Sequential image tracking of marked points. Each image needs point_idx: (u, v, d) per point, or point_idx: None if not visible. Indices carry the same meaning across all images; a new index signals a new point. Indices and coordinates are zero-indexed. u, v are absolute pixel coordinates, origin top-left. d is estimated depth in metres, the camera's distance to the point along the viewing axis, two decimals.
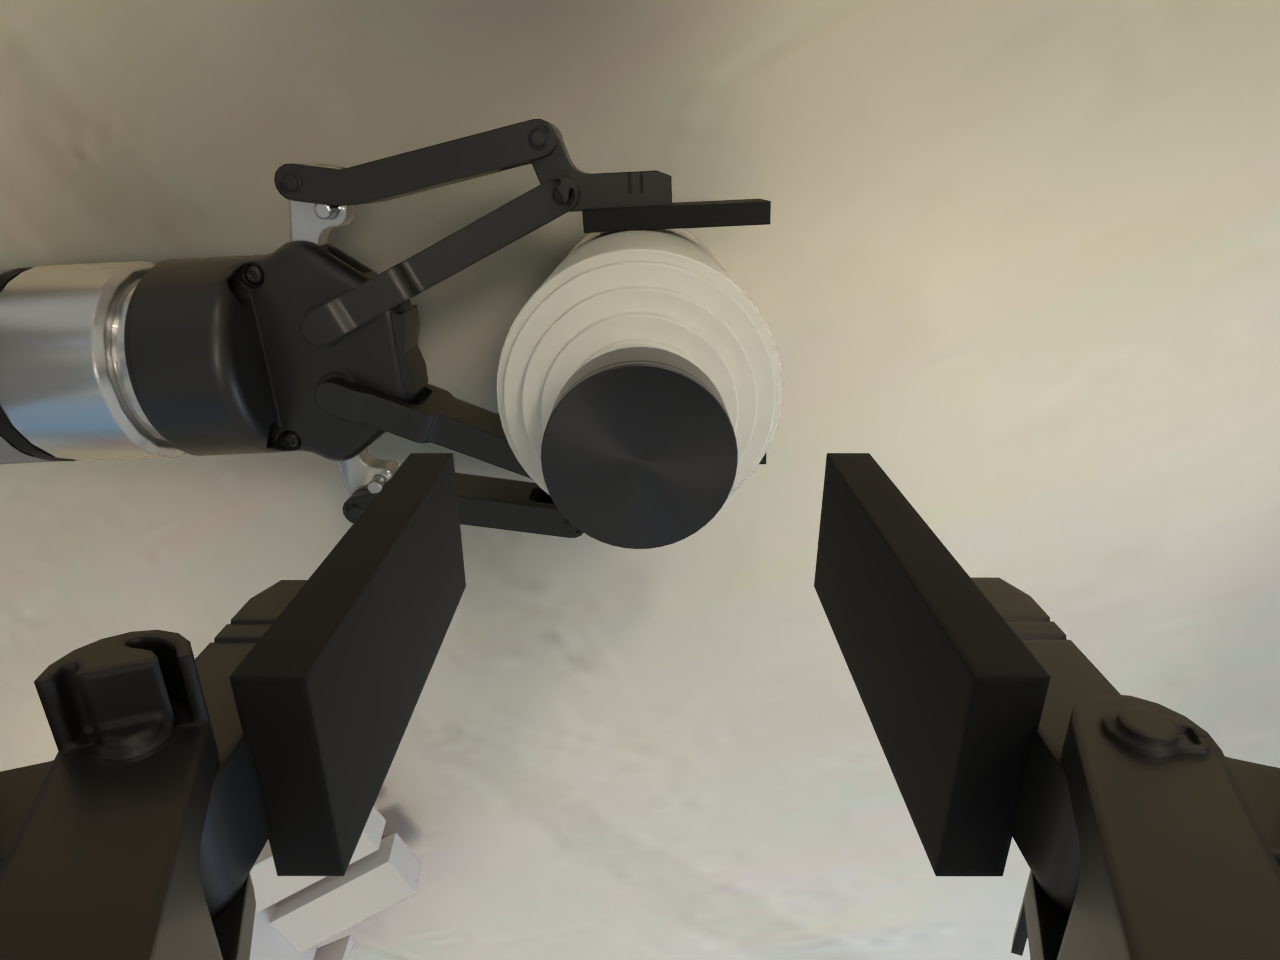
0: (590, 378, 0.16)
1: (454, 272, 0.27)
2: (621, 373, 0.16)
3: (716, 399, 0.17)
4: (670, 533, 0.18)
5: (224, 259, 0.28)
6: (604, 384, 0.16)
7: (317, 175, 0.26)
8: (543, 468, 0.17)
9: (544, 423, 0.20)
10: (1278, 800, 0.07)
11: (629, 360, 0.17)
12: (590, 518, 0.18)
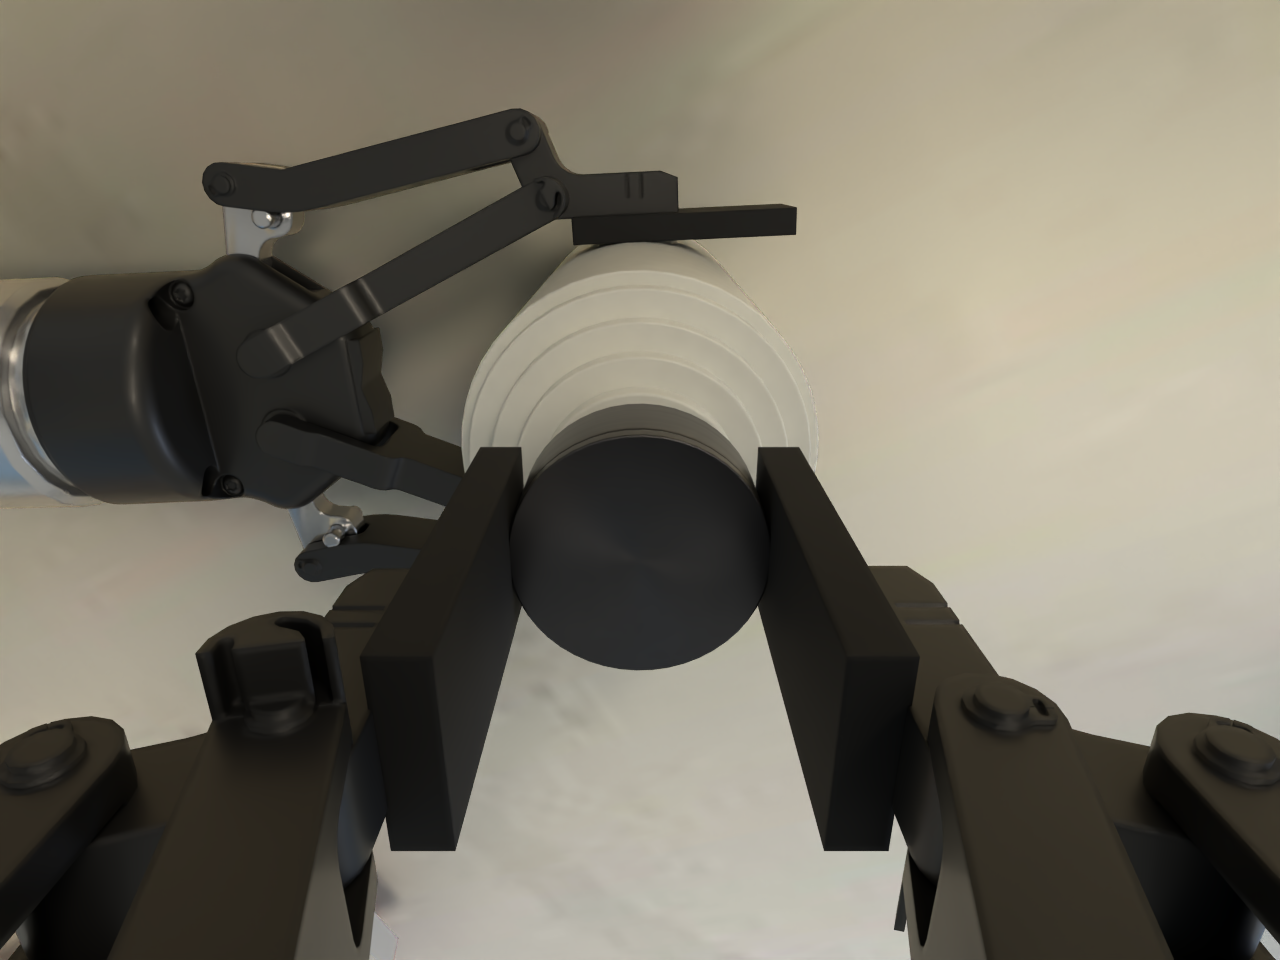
0: (573, 453, 0.12)
1: (419, 291, 0.23)
2: (615, 447, 0.12)
3: (744, 480, 0.12)
4: (681, 651, 0.13)
5: (148, 276, 0.24)
6: (592, 461, 0.12)
7: (253, 176, 0.22)
8: (511, 569, 0.13)
9: None
10: (1124, 772, 0.07)
11: (626, 427, 0.12)
12: (574, 632, 0.13)
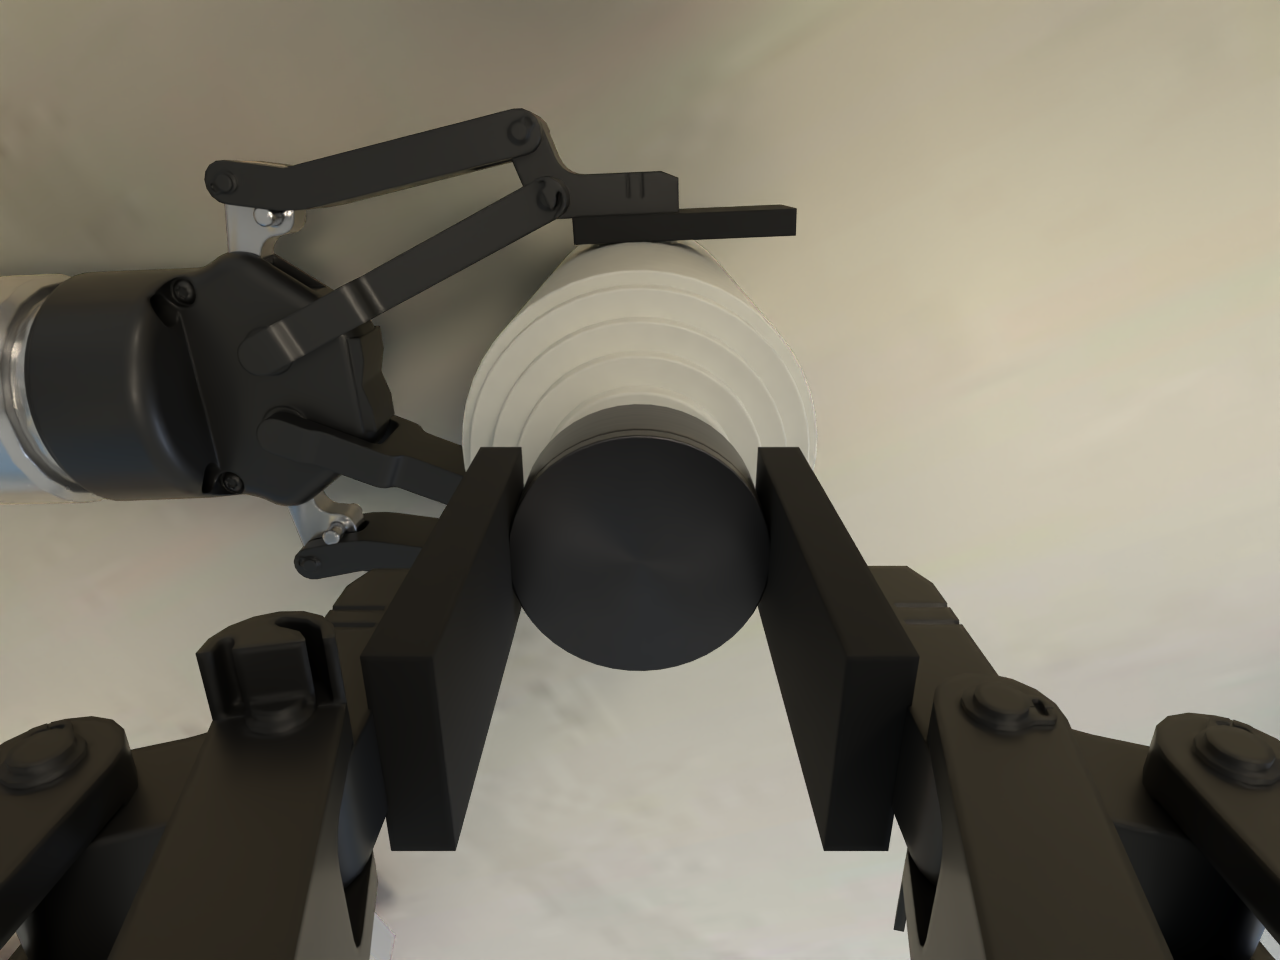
0: (583, 657, 0.13)
1: (420, 290, 0.23)
2: (555, 634, 0.13)
3: (511, 526, 0.13)
4: (707, 471, 0.12)
5: (149, 273, 0.24)
6: (579, 642, 0.13)
7: (255, 174, 0.22)
8: (716, 646, 0.13)
9: None
10: (1124, 772, 0.07)
11: None
12: (746, 568, 0.13)
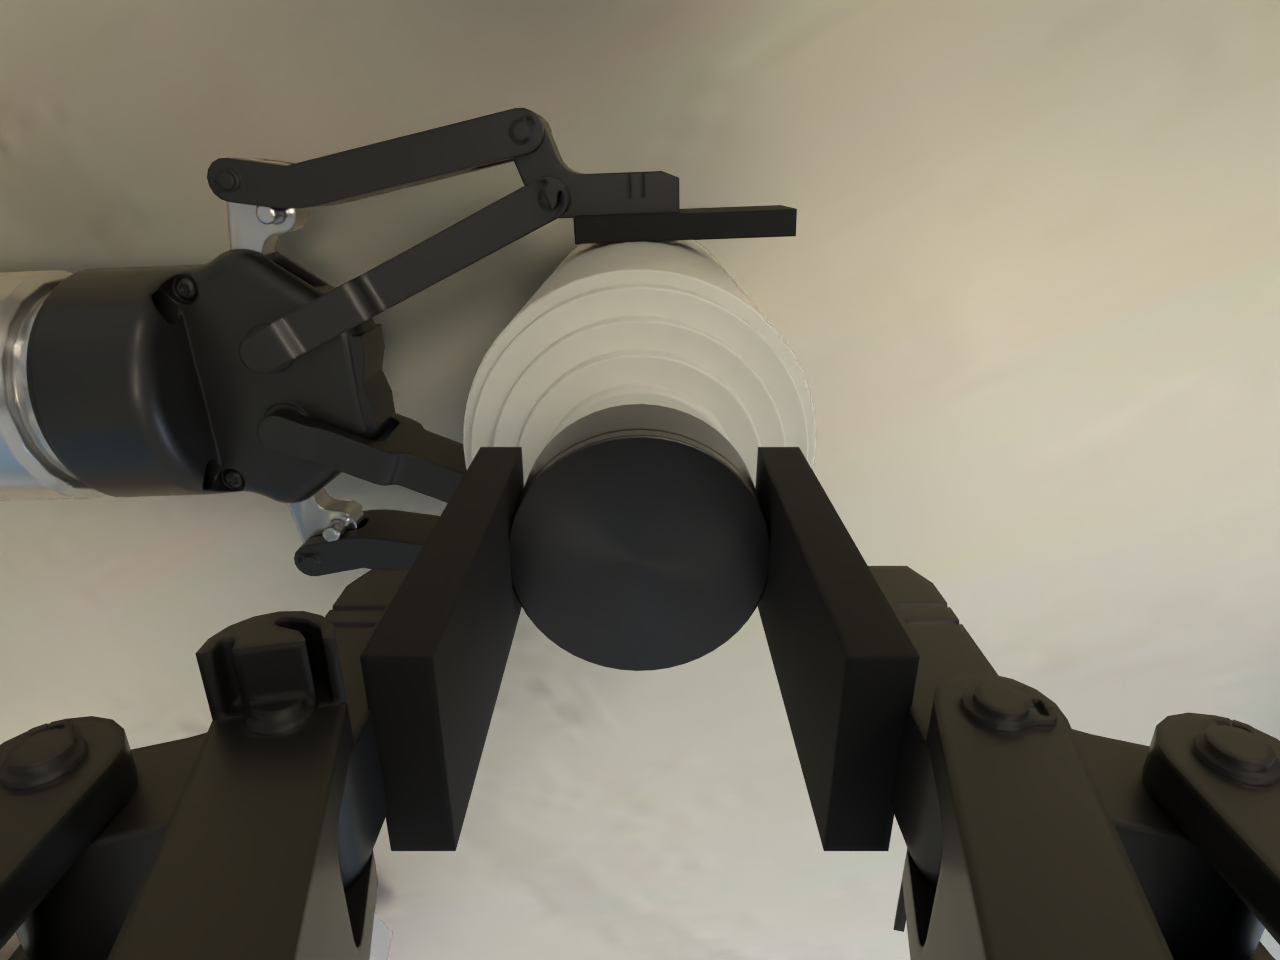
0: (769, 546, 0.13)
1: (422, 288, 0.23)
2: (758, 582, 0.13)
3: (677, 663, 0.14)
4: (523, 560, 0.13)
5: (152, 270, 0.24)
6: (754, 559, 0.13)
7: (258, 172, 0.22)
8: (680, 443, 0.12)
9: None
10: (1124, 772, 0.07)
11: None
12: (583, 472, 0.12)
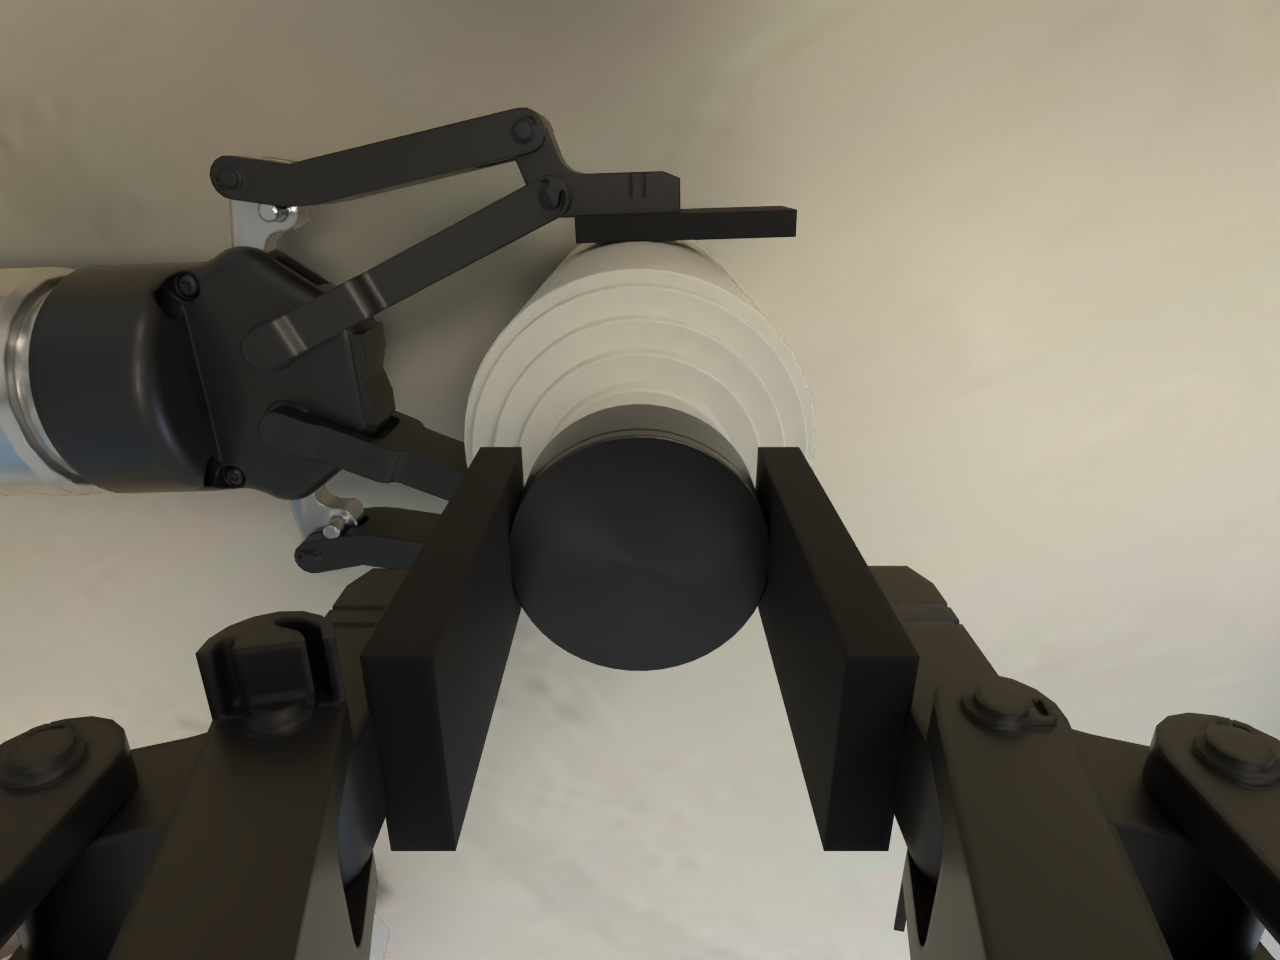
0: (550, 469, 0.12)
1: (423, 286, 0.23)
2: (589, 454, 0.12)
3: (724, 462, 0.12)
4: (701, 642, 0.13)
5: (154, 266, 0.24)
6: (570, 473, 0.12)
7: (261, 170, 0.22)
8: (517, 592, 0.13)
9: None
10: (1124, 772, 0.07)
11: (598, 433, 0.12)
12: (592, 642, 0.13)
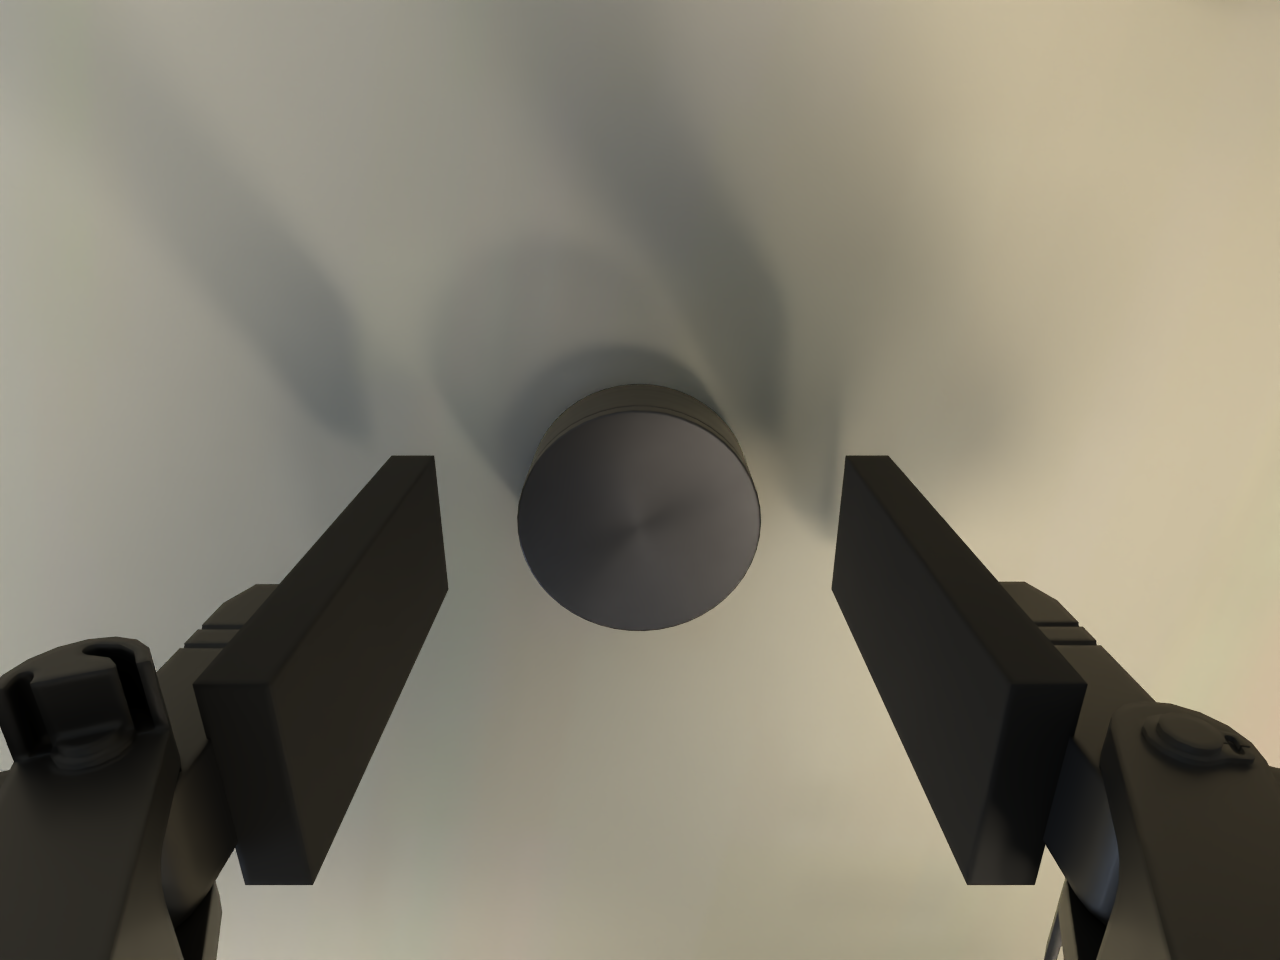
0: (557, 441, 0.13)
1: None
2: (593, 428, 0.13)
3: (717, 436, 0.13)
4: (695, 604, 0.14)
5: None
6: (576, 445, 0.13)
7: None
8: (526, 557, 0.14)
9: None
10: None
11: (601, 409, 0.13)
12: (595, 604, 0.14)
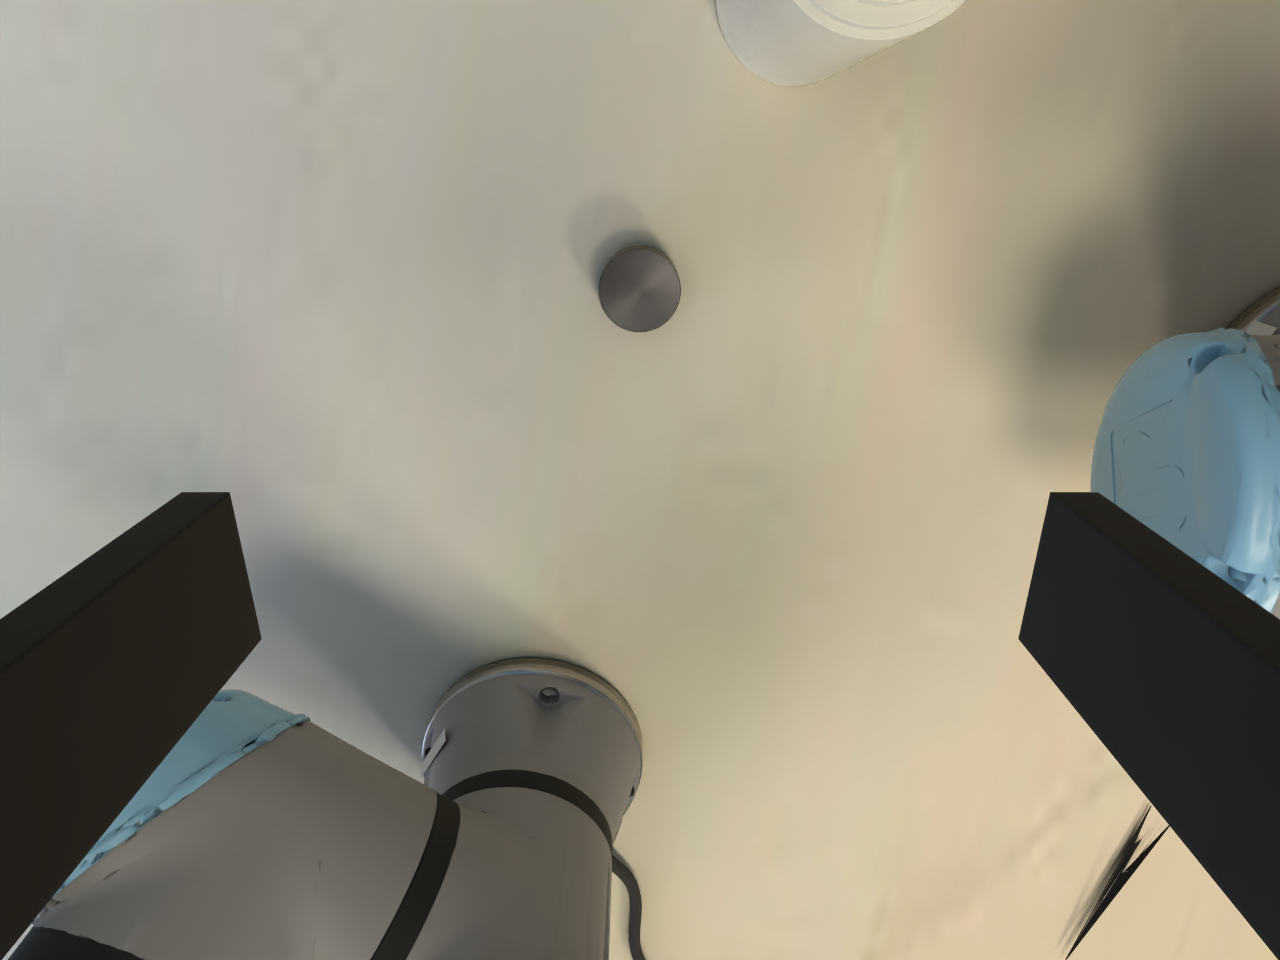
0: (613, 259, 0.41)
1: None
2: (624, 254, 0.40)
3: (665, 258, 0.41)
4: (659, 321, 0.42)
5: None
6: (619, 261, 0.41)
7: None
8: (601, 302, 0.41)
9: None
10: None
11: (627, 249, 0.41)
12: (624, 321, 0.42)
